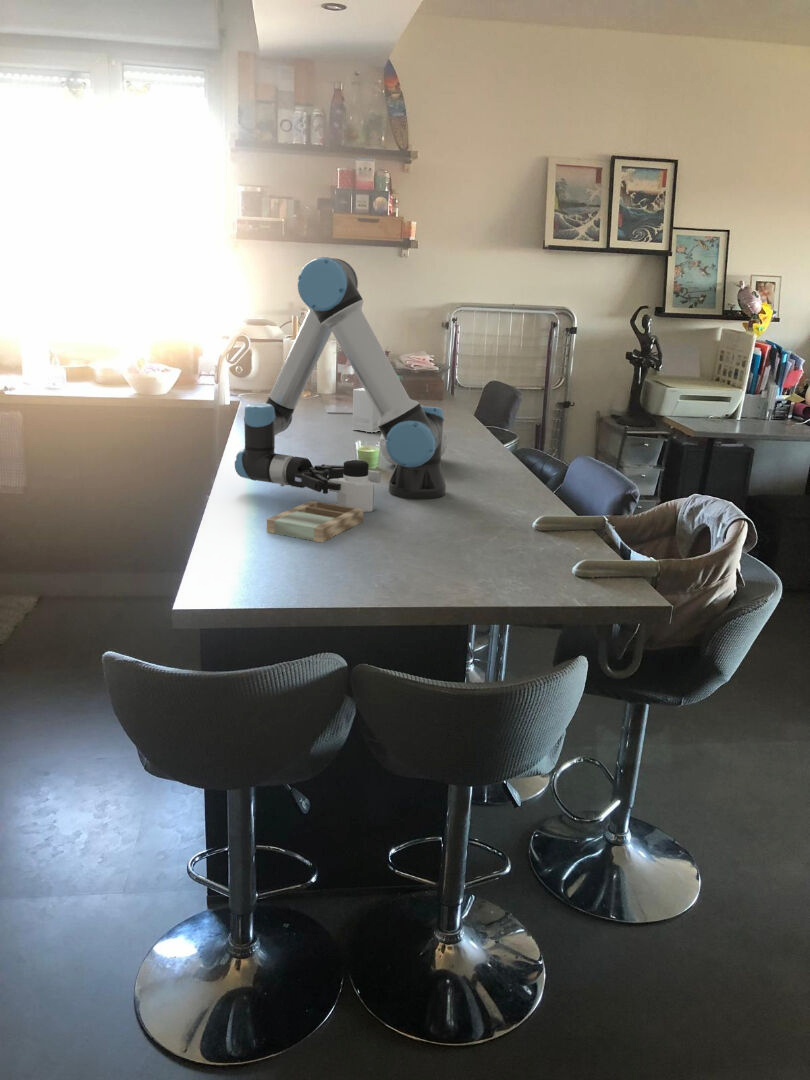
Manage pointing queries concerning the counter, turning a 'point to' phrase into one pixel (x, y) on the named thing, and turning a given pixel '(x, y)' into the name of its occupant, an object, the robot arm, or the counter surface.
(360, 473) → the medicine bottle
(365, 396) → the supplement box
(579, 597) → the counter surface
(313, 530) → the board
